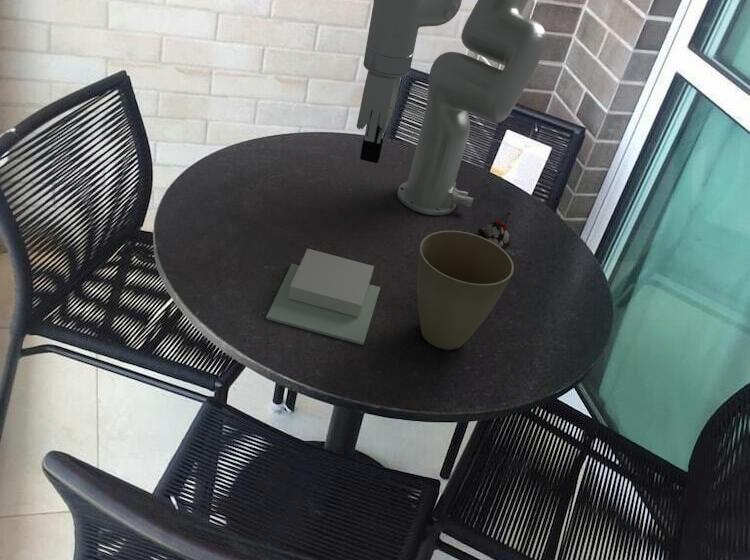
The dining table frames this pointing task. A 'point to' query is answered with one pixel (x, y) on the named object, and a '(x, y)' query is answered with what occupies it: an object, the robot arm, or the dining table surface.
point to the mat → (322, 314)
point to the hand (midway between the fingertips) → (369, 159)
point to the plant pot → (458, 285)
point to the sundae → (496, 233)
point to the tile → (331, 282)
